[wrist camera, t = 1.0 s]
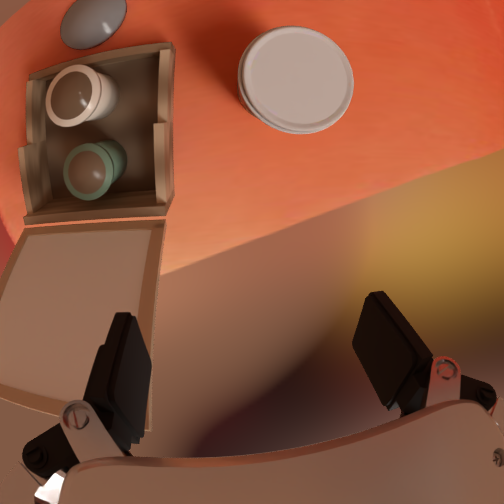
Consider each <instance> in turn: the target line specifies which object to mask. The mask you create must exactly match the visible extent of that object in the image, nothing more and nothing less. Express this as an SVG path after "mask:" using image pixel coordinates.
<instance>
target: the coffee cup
mask: <svg viewBox="0 0 504 504" xmlns="http://www.w3.org/2000/svg"><path fill="white" fill-rule="evenodd" d="M353 88H354V80H353V73H352V69H351V66H350V63H349V61H348V59H347V57H346V55H345V54H344V52H343V51H342V50H341V49H340V47H339V46H338V45H337V44H336V43H335V42H333V41H332V40H331V39H330V38H328V37H327V36H325V35H323V34H321V33H319V32H317V31H315V30H312V29H309V28H306V27H301V26H281V27H277V28H273V29H270V30H268V31H266V32H264V33H262V34H260V35H259V36H257V37H256V38H255V39H254V40H253V41H252V42H251V43H250V44H249V45H248V46H247V48H246V49H245V51H244V52H243V54H242V57H241V59H240V62H239V67H238V82H237V92H238V97H239V100H240V102H241V104H242V105H243V107H244V108H245V109H246V110H247V111H248V112H249V113H250V114H252V115H253V116H255V117H256V118H258V119H260V120H261V121H263V122H264V123H265V124H267V125H269V126H271V127H272V128H275V129H277V130H280V131H283V132H287V133H292V134H308V133H314V132H318V131H321V130H323V129H325V128H327V127H329V126H331V125H332V124H334V123H335V122H336V121H337V120H338V119H340V117H341V116H342V115H343V114H344V112H345V111H346V109H347V108H348V106H349V103H350V101H351V98H352V94H353Z"/></svg>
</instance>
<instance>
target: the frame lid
mask: <svg viewBox="0 0 504 504" xmlns="http://www.w3.org/2000/svg"><path fill="white" fill-rule="evenodd" d="M166 226H167V225H166V219H165V220H140V221H119V222H102V223H86V224H71V225H58V226H45V227H34V228H25V229H24V231H23V232H22V234H21V236H20V238H19V240H18V242H17V244H16V246H15V248H14V250H13V252H12V254H11V256H10V258H9V261H8V262H7V265H6V267H5V269H4V271H3V274H2V276H1V278H0V398H1V399H4V400H6V401H9V402H12V403H14V404H17V405H20V406H24V407H26V408H29V409H33V410H36V411H39V412H43V413H46V414H50V415H54V416H58V417H59V414H60V412H61V409H62V408H63V406H64V405H65V404H67V403H68V402H70V401H73V400H83V396H84V393H85V389H86V386H87V382H88V379H89V376H90V373H91V369H92V366H93V363H94V360H95V357H96V354H97V351H98V348H99V346H100V345H103V344H105V341H106V338H107V335H108V332H109V329H110V326H111V323H112V321H113V318H114V315H115V313H116V312H130V313H131V315H132V316H136V319H137V322H138V325H139V328H140V331H141V334H142V337H143V339H144V342H145V345H146V348H147V351H148V353H149V356H150V359H151V362H152V367H153V346H154V330H155V317H156V305H157V295H158V285H159V277H160V268H161V260H162V253H163V246H164V239H165V232H166ZM145 431H152V371H151V378H150V385H149V393H148V401H147V410H146V420H145Z"/></svg>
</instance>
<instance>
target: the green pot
mask: <svg viewBox="0 0 504 504" xmlns="http://www.w3.org/2000/svg"><path fill="white" fill-rule="evenodd" d="M127 162H128V159H127V154H126V151H125V149H124V148H123V146H122V145H121V144H120V143H118V142H116V141H114V140H104V141H101V142H97V143H86V144H82V145H79V146H77V147H76V148H74V149H73V150H72V151H71V152H70V153H69V155H68V156H67V158H66V160H65V163H64V168H63V176H64V181H65V184H66V186H67V188H68V189H69V191H70V192H71V193H72V194H73V195H74V196H75V197H77V198H79V199H82V200H94V199H97V198H99V197H100V196H102V195H103V194H104V193H105V192H106V191H107V190H108V189H109V188H110V186H111V184H112V183H114V182H115V181H116V180H118V179H119V178H120V177H121V176H122V175H123V174H124V172H125V170H126V168H127Z"/></svg>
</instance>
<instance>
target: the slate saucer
mask: <svg viewBox="0 0 504 504" xmlns="http://www.w3.org/2000/svg"><path fill="white" fill-rule="evenodd" d="M126 12H127V3H126V0H77V1H76V2H75V3H74V4H73V5H72V6H71V7H70V8H69V10H68V11H67V12H66V14H65V16H64V18H63V20H62V23H61V29H60V34H61V38H62V40H63V42H64V43H65V44H66V45H67V46H69V47H71V48H74V49H78V50H85V49H90V48H93V47H96V46H98V45H100V44H102V43H103V42H105V41H106V40H107V39H109V38H110V37H111V36H112V35H113V34H114V33H115V32H116V31H117V30H118V29H119V27H120V26H121V24H122V23H123V21H124V18H125V16H126Z"/></svg>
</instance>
